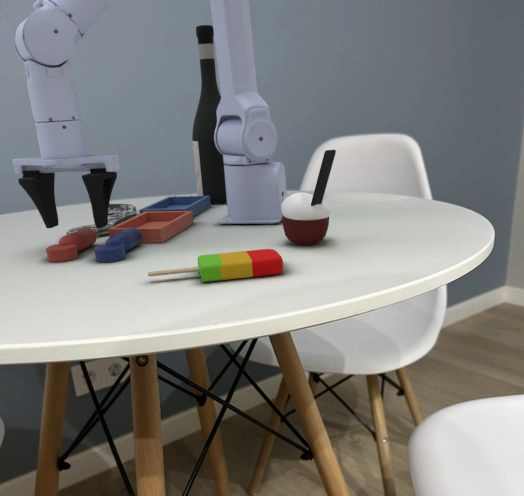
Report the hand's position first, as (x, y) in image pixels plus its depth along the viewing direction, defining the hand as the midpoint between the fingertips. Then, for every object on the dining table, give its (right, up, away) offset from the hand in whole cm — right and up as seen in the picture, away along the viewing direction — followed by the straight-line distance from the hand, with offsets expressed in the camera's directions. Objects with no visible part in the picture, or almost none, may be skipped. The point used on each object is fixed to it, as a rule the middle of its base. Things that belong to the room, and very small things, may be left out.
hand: (77, 226), depth 80 cm
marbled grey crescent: (-1, +5, +20) cm, 21 cm away
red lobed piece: (0, -4, 0) cm, 4 cm away
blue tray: (+11, +7, +23) cm, 26 cm away
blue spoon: (+7, -4, -2) cm, 8 cm away
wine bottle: (+17, +12, +33) cm, 39 cm away
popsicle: (+20, -9, -14) cm, 26 cm away
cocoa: (+32, -3, -3) cm, 32 cm away
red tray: (+9, +1, +9) cm, 13 cm away
